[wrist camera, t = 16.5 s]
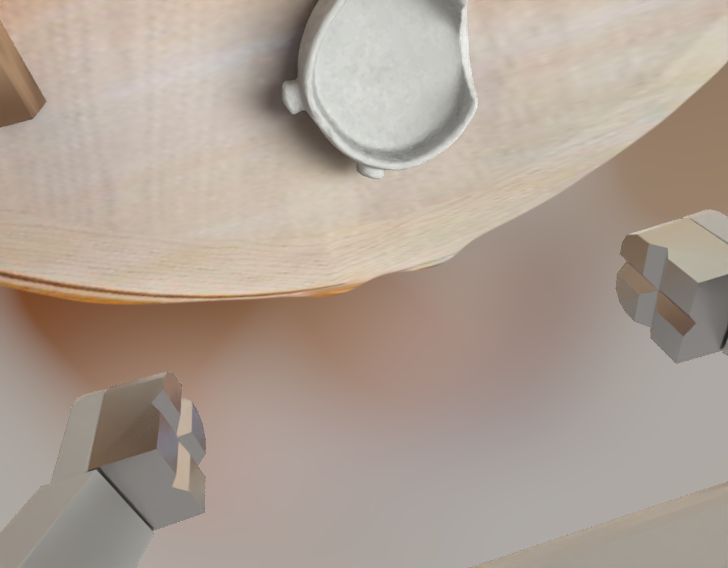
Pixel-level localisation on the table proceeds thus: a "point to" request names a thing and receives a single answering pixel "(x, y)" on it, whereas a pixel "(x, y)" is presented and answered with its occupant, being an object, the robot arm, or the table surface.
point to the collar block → (16, 85)
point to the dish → (385, 79)
